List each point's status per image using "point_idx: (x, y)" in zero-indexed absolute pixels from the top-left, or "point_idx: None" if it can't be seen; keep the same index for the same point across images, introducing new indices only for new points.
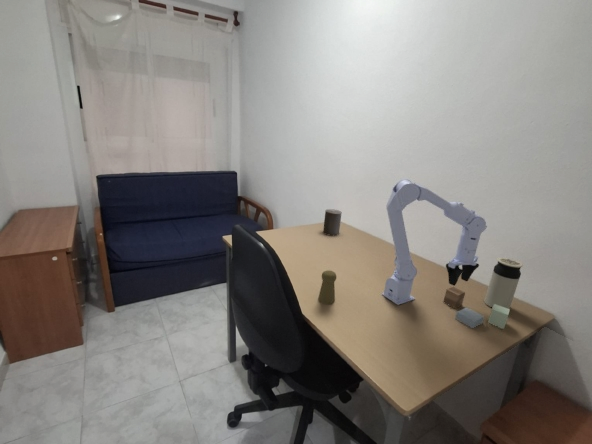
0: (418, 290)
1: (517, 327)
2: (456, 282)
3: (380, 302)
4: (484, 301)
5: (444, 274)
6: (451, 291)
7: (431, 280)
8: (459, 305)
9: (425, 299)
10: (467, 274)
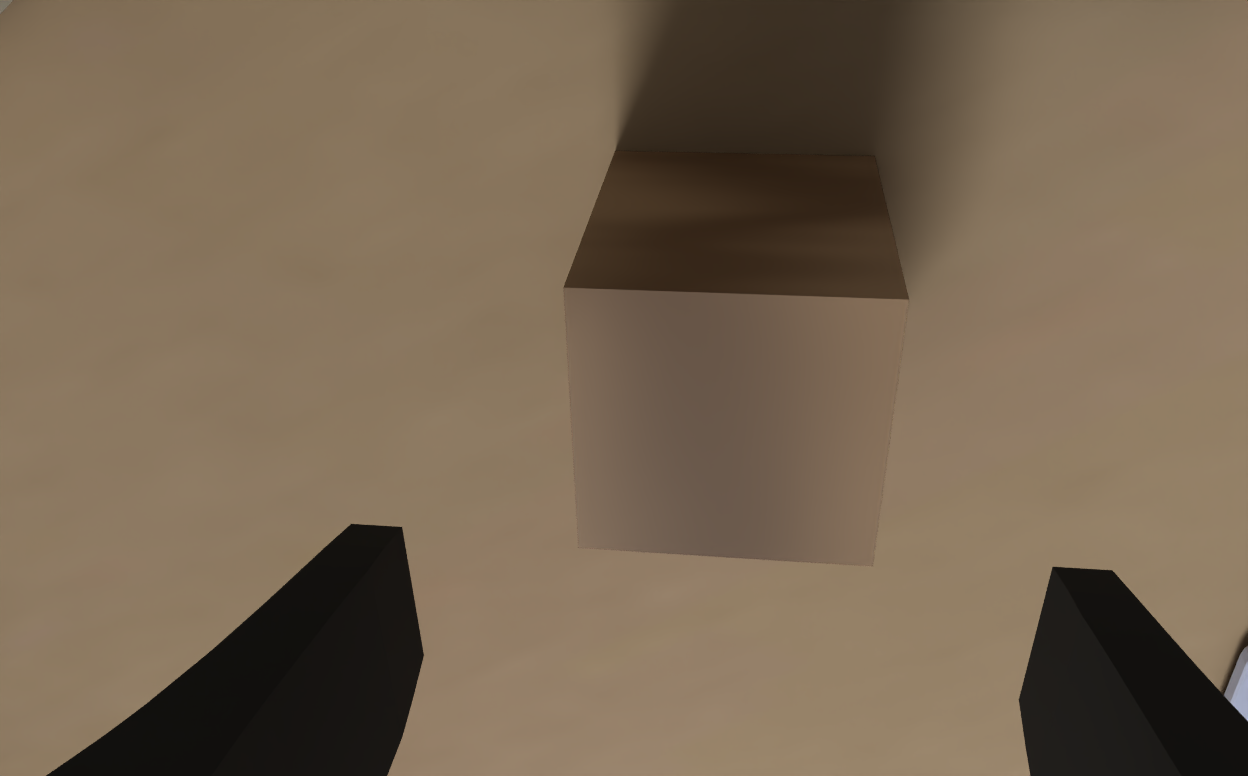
0: (883, 728)
1: None
2: (1127, 641)
3: None
4: (6, 6)
5: (29, 768)
6: (871, 468)
7: (391, 772)
8: (710, 162)
9: (1068, 557)
10: (304, 737)
